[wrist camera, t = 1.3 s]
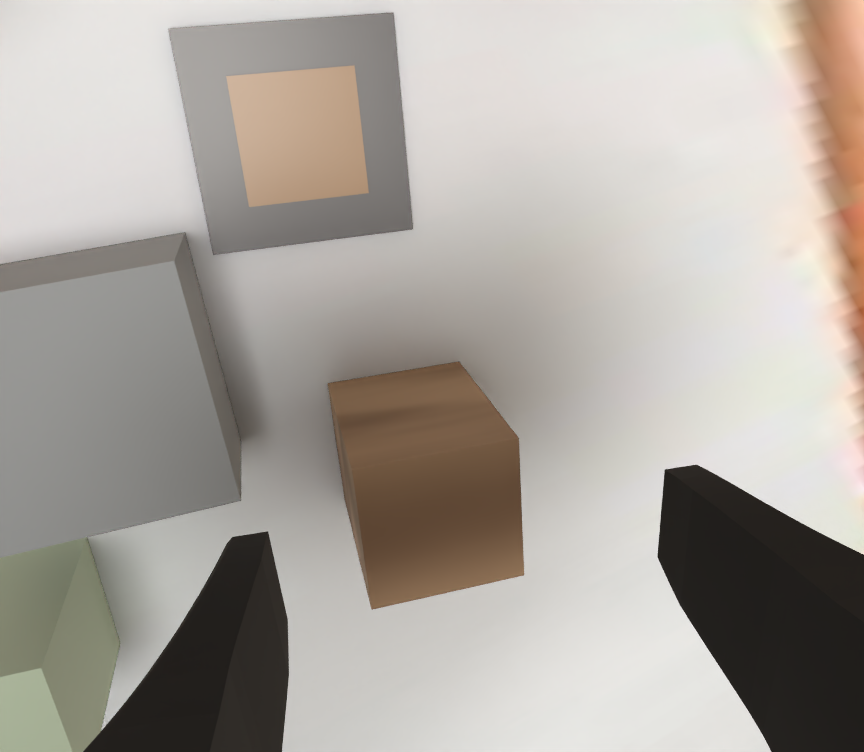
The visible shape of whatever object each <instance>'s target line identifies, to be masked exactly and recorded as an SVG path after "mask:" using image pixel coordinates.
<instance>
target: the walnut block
mask: <svg viewBox="0 0 864 752" xmlns="http://www.w3.org/2000/svg"><path fill="white" fill-rule="evenodd" d="M328 390H329V397H330V403H331V410H332V417H333V424H334V430H335V437H336V444H337V451H338V457H339V464H340V471H341V478H342V484H343V491H344V498H345V503H346V507H347V511H348V515H349V519H350V523H351V527H352V531H353V535H354V540H355V544H356V548H357V552H358V556H359V560H360V564H361V568H362V572H363V576H364V580H365V585H366V589H367V593H368V597H369V601H370V605H371V609H376V608H381V607H385V606H390V605H394V604H399V603H403V602H407V601H412V600H416V599H421V598H425V597H430V596H434V595H438V594H443V593H447V592H452V591H456V590H461V589H465V588H469V587H474V586H478V585H483V584H487V583H492V582H496V581H500V580H505V579H509V578H514V577H518V576H523V575H524V562H523V536H522V510H521V484H520V458H519V438H518V437H517V435H516V434H515V433H514V431H513V430H512V429H511V428H510V426H509V425H508V424H507V422H506V421H505V420H504V419H503V417H502V416H501V415H500V413H499V412H498V411H497V410H496V408H495V407H494V406H493V405H492V403H491V402H490V401H489V399H488V398H487V397H486V396H485V394H484V393H483V392H482V390H481V389H480V388H479V387H478V385H477V384H476V383H475V381H474V380H473V379H472V378H471V376H470V375H469V374H468V373H467V371H466V370H465V369H464V367H463V366H462V365H461V364H460V362H454V363H448V364H442V365H436V366H430V367H424V368H418V369H412V370H405V371H399V372H393V373H387V374H381V375H375V376H369V377H363V378H357V379H351V380H345V381H339V382H333V383H328Z"/></svg>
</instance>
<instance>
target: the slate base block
mask: <svg viewBox="0 0 864 752" xmlns="http://www.w3.org/2000/svg"><path fill="white" fill-rule="evenodd" d="M237 501H241V439H240V436H239V432H238V428H237V424H236V421H235V417H234V413H233V410H232V406H231V402H230V398H229V395H228V391H227V387H226V383H225V380H224V376H223V372H222V369H221V365H220V361H219V357H218V354H217V350H216V346H215V342H214V339H213V335H212V331H211V328H210V324H209V320H208V316H207V313H206V309H205V305H204V301H203V298H202V294H201V290H200V287H199V283H198V279H197V275H196V272H195V268H194V264H193V260H192V257H191V253H190V249H189V246H188V242H187V238H186V234H185V232H184V233H178V234H173V235H167V236H161V237H155V238H150V239H144V240H138V241H132V242H127V243H121V244H115V245H109V246H104V247H98V248H92V249H86V250H81V251H75V252H69V253H63V254H58V255H52V256H46V257H40V258H35V259H29V260H23V261H17V262H12V263H6V264H0V558H2V557H6V556H10V555H14V554H18V553H23V552H27V551H31V550H35V549H39V548H44V547H48V546H52V545H56V544H61V543H65V542H69V541H73V540H77V539H82V538H86V537H90V536H94V535H98V534H103V533H107V532H111V531H115V530H119V529H124V528H128V527H132V526H136V525H140V524H145V523H149V522H153V521H157V520H161V519H166V518H170V517H174V516H178V515H183V514H187V513H191V512H195V511H199V510H204V509H208V508H212V507H216V506H220V505H225V504H229V503H233V502H237Z"/></svg>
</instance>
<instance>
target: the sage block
mask: <svg viewBox="0 0 864 752" xmlns="http://www.w3.org/2000/svg"><path fill="white" fill-rule="evenodd" d="M119 647H120V641H119V637H118V634H117V631H116V628H115V625H114V622H113V618H112V615H111V612H110V609H109V606H108V603H107V599H106V596H105V593H104V590H103V587H102V584H101V580H100V577H99V574H98V571H97V568H96V565H95V561H94V558H93V555H92V552H91V549H90V546H89V542H88V539H87V537H86V538H82V539H77V540H73V541H69V542H65V543H61V544H56V545H52V546H48V547H44V548H39V549H35V550H31V551H27V552H23V553H18V554H14V555H10V556H6V557H2V558H0V752H83V751H84V750H85V749H86V748H87V746H88V745H89V744H90V743H91V742H92V741H93V740H94V739H95V738H96V736H97V735H98V734H99V733H100V732H101V728H102V724H103V719H104V715H105V710H106V706H107V701H108V697H109V692H110V688H111V683H112V679H113V674H114V669H115V665H116V660H117V656H118V651H119Z"/></svg>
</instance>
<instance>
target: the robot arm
mask: <svg viewBox="0 0 864 752" xmlns="http://www.w3.org/2000/svg"><path fill="white" fill-rule="evenodd" d="M658 559H659V561H660V563H661V566H662V568H663V570H664V572H665V574H666V577H667V579H668V581H669V583H670V585H671V587H672V589H673V591H674V593H675V595H676V598H677V600H678V602H679V604H680V606H681V607H682V609H683V610H684V612H685V614H686V615H687V617H688V618H689V620H690V622H691V623H692V625H693V626H694V628H695V629H696V631H697V632H698V634H699V636H700V637H701V639H702V640H703V642H704V643H705V645H706V646H707V648H708V650H709V651H710V653H711V654H712V656H713V657H714V659H715V660H716V662H717V663H718V665H719V666H720V668H721V669H722V671H723V673H724V674H725V676H726V677H727V679H728V680H729V682H730V683H731V685H732V686H733V688H734V689H735V691H736V692H737V694H738V696H739V697H740V699H741V700H742V702H743V703H744V705H745V706H746V708H747V709H748V711H749V713H750V714H751V716H752V718H753V719H754V721H755V723H756V724H757V726H758V728H759V729H760V731H761V733H762V734H763V736H764V738H765V740H766V742H767V744H768V746H769V748H770V750H771V751H772V752H864V555H863V554H861V553H859V552H857V551H855V550H853V549H851V548H849V547H847V546H845V545H843V544H841V543H839V542H837V541H835V540H833V539H831V538H829V537H827V536H825V535H823V534H821V533H819V532H817V531H815V530H813V529H811V528H809V527H807V526H806V525H804V524H802V523H800V522H798V521H796V520H795V519H793V518H791V517H789V516H787V515H786V514H784V513H782V512H780V511H778V510H777V509H775V508H773V507H771V506H770V505H768V504H766V503H764V502H762V501H761V500H759V499H757V498H756V497H754V496H752V495H750V494H749V493H747V492H745V491H743V490H742V489H740V488H738V487H736V486H735V485H733V484H731V483H729V482H728V481H726V480H724V479H722V478H721V477H719V476H717V475H715V474H714V473H712V472H710V471H708V470H706V469H704V468H702V467H700V466H698V465H692V466H685V467H679V468H672V469H666V470H665V474H664V486H663V498H662V510H661V522H660V534H659V546H658ZM288 678H289V659H288V619H287V615H286V610H285V606H284V601H283V597H282V593H281V588H280V584H279V579H278V575H277V570H276V566H275V561H274V557H273V552H272V548H271V543H270V539H269V534H268V532H262V533H255V534H249V535H243V536H236V537H232V538H231V539H230V541H229V542H228V543H227V544H226V546H225V548H224V550H223V552H222V554H221V556H220V558H219V560H218V562H217V564H216V566H215V567H214V569H213V571H212V573H211V575H210V577H209V578H208V580H207V582H206V584H205V585H204V587H203V589H202V591H201V592H200V594H199V596H198V597H197V599H196V601H195V602H194V604H193V606H192V607H191V609H190V610H189V612H188V614H187V615H186V617H185V619H184V620H183V622H182V623H181V625H180V627H179V628H178V630H177V631H176V633H175V634H174V636H173V637H172V639H171V640H170V642H169V643H168V645H167V646H166V648H165V649H164V650H163V652H162V653H161V655H160V656H159V658H158V659H157V661H156V662H155V663H154V665H153V666H152V668H151V669H150V671H149V672H148V673H147V675H146V676H145V677H144V679H143V680H142V681H141V683H140V684H139V685H138V687H137V688H136V689H135V691H134V692H133V693H132V695H131V696H130V697H129V698H128V700H127V701H126V702H125V703H124V705H123V706H122V707H121V708H120V709H119V711H118V712H117V713H116V714H115V716H114V717H113V718H112V719H111V720H110V722H109V723H108V724H107V725H106V726H105V728H104V729H103V730H102V731H101V732H100V733H99V734H98V735H97V736H96V738H95V739H94V740H93V741H92V742H91V743H90V744H89V745H88V746H87V748H86V749H85V750H84V751H83V752H282V743H283V733H284V722H285V711H286V700H287V689H288Z"/></svg>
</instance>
